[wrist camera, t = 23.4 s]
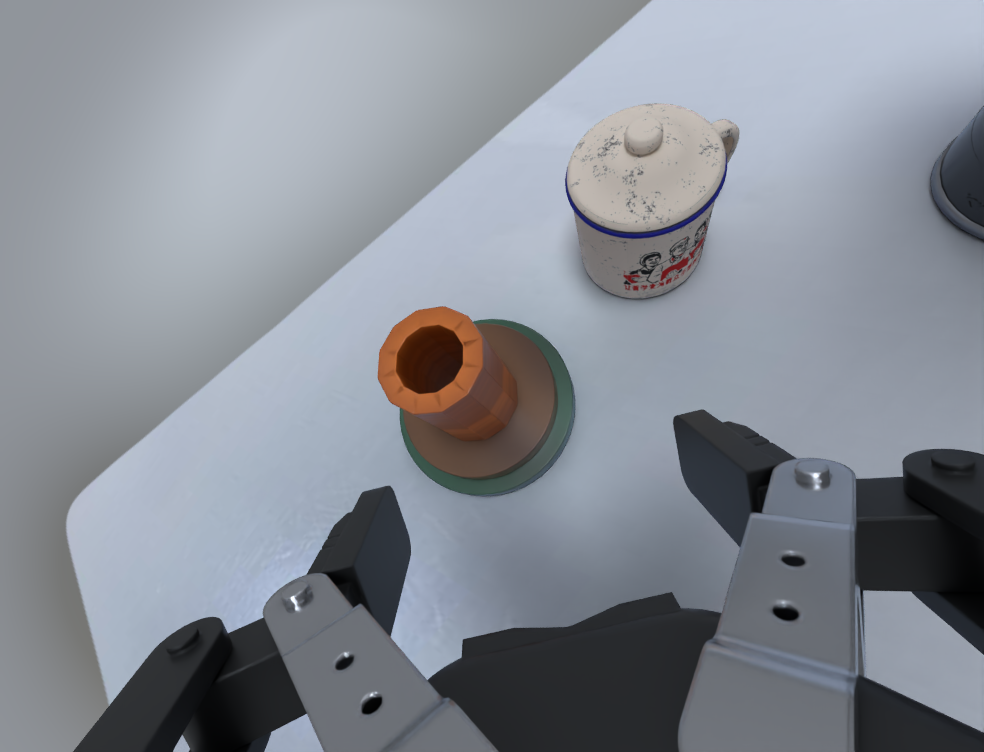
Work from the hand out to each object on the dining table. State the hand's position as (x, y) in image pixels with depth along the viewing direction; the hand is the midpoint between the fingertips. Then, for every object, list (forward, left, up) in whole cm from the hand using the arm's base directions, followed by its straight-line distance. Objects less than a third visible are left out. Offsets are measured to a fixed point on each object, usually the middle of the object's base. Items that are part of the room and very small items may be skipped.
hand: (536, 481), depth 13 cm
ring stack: (0, -10, -19) cm, 22 cm away
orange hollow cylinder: (0, -10, -16) cm, 19 cm away
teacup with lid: (-18, -9, -20) cm, 28 cm away
